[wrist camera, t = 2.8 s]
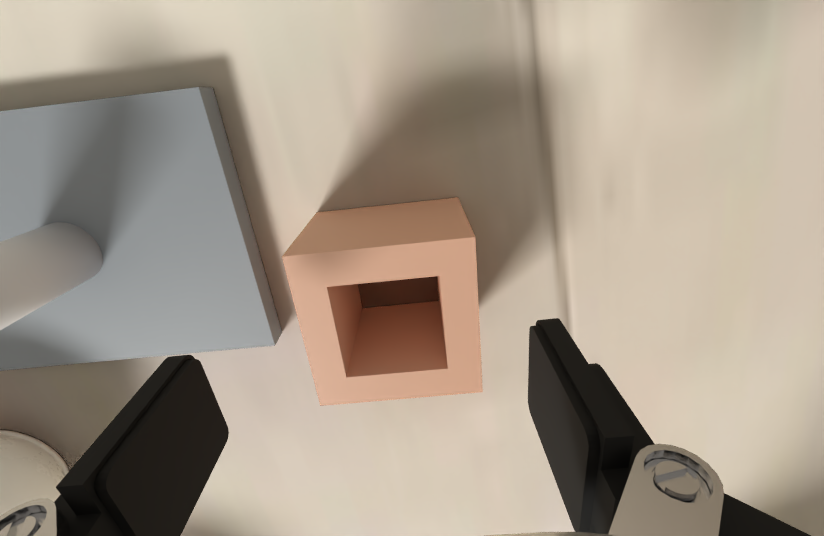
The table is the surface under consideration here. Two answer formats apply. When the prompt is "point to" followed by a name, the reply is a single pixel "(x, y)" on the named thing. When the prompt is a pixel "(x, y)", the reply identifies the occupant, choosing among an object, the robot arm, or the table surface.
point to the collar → (396, 324)
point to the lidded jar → (27, 470)
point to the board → (125, 234)
